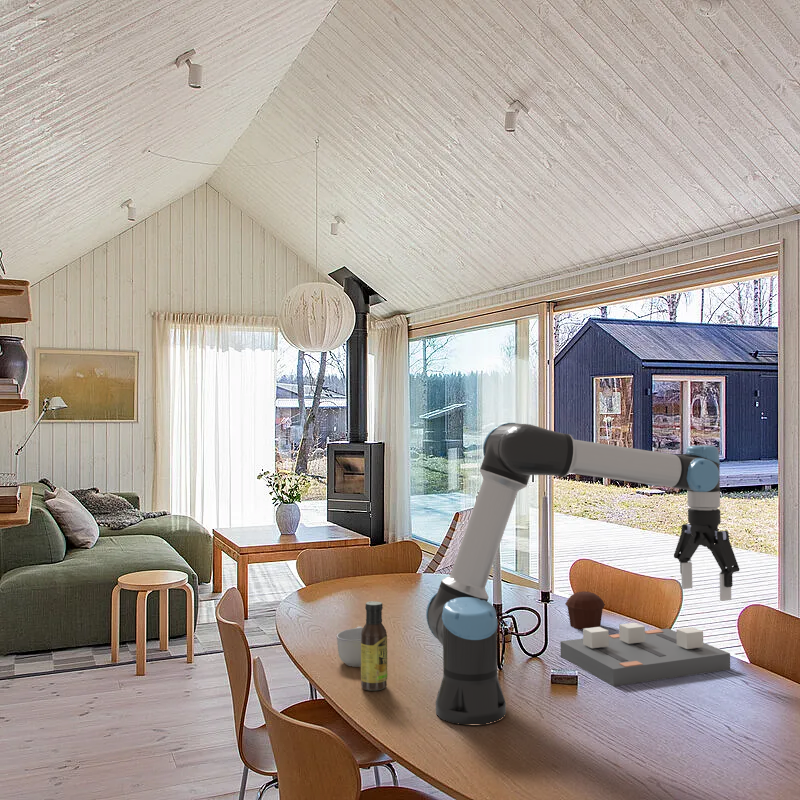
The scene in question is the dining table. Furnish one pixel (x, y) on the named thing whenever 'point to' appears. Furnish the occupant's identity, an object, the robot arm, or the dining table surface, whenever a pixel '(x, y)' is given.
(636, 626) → the switch middle
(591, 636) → the switch
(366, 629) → the sauce bottle
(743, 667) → the dining table surface
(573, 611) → the muffin
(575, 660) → the switch panel
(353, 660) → the teacup
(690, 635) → the switch
